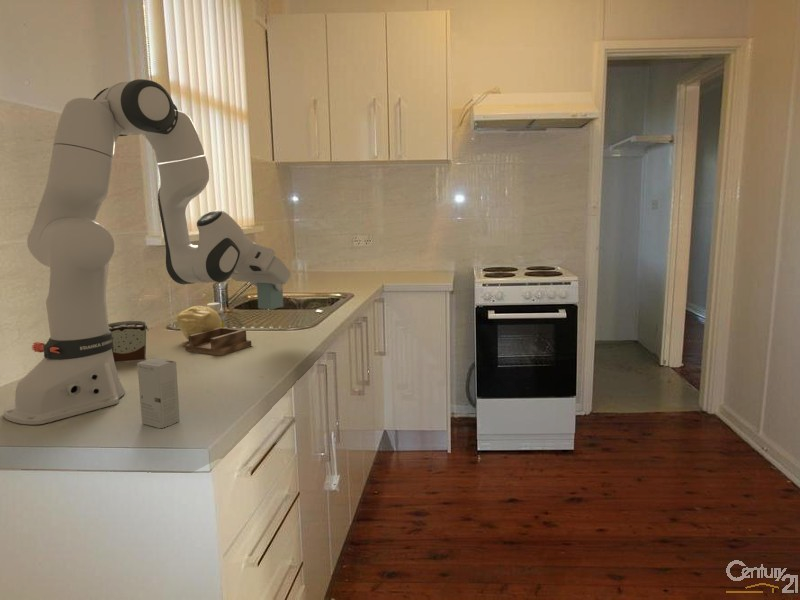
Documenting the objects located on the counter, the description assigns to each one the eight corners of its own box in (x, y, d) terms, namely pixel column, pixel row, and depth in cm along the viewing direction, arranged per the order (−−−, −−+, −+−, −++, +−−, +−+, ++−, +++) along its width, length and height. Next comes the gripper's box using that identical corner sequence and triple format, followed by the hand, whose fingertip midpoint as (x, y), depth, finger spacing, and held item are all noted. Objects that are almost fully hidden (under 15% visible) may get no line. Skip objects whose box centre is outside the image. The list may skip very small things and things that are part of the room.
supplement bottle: (203, 336, 181) (200, 304, 179) (216, 332, 186) (213, 301, 184) (216, 338, 179) (213, 305, 177) (229, 334, 184) (226, 302, 182)
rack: (219, 355, 158) (218, 339, 157) (185, 350, 165) (184, 334, 164) (251, 345, 168) (250, 330, 167) (217, 341, 175) (216, 326, 174)
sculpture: (173, 343, 173) (169, 308, 171) (202, 334, 184) (199, 301, 182) (202, 346, 169) (198, 310, 167) (230, 336, 179) (227, 302, 177)
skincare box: (140, 424, 109) (134, 362, 107) (160, 416, 113) (154, 356, 111) (163, 429, 106) (156, 366, 104) (182, 421, 110) (176, 360, 108)
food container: (155, 353, 162) (151, 319, 160) (151, 359, 156) (147, 323, 154) (107, 357, 159) (103, 322, 157) (101, 363, 153) (97, 327, 151)
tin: (271, 309, 162) (269, 273, 160) (257, 308, 165) (255, 273, 163) (283, 306, 166) (282, 271, 165) (270, 305, 169) (268, 271, 167)
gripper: (211, 265, 159) (240, 294, 169) (266, 267, 149) (293, 299, 159) (222, 247, 162) (250, 278, 172) (277, 249, 152) (303, 281, 162)
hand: (271, 288), depth 165 cm, fingers closed on tin, 5 cm apart
